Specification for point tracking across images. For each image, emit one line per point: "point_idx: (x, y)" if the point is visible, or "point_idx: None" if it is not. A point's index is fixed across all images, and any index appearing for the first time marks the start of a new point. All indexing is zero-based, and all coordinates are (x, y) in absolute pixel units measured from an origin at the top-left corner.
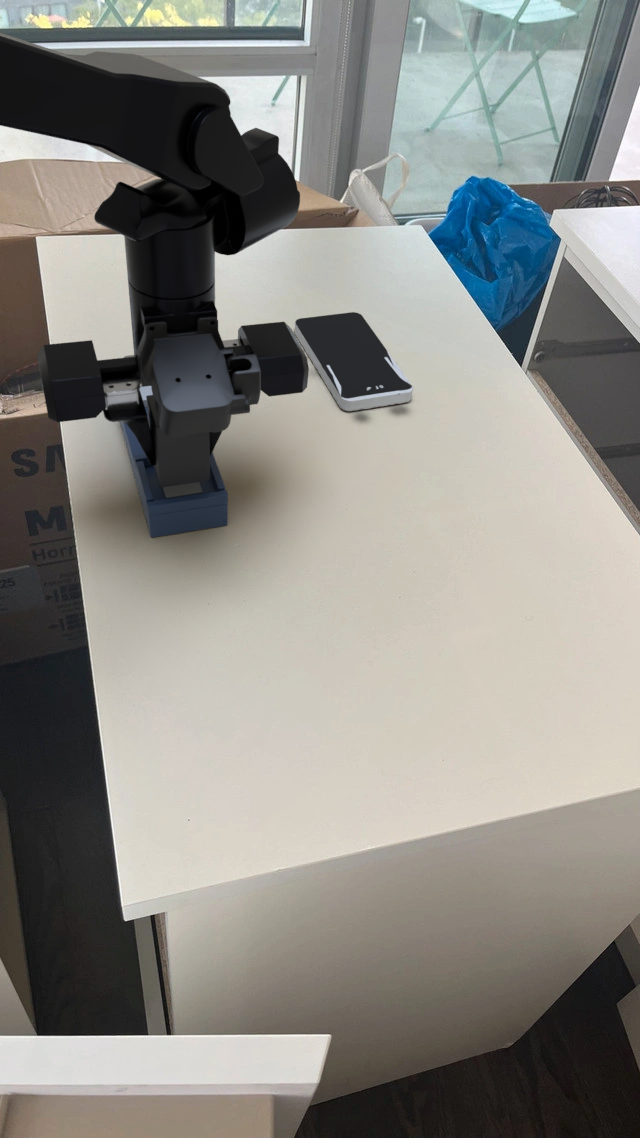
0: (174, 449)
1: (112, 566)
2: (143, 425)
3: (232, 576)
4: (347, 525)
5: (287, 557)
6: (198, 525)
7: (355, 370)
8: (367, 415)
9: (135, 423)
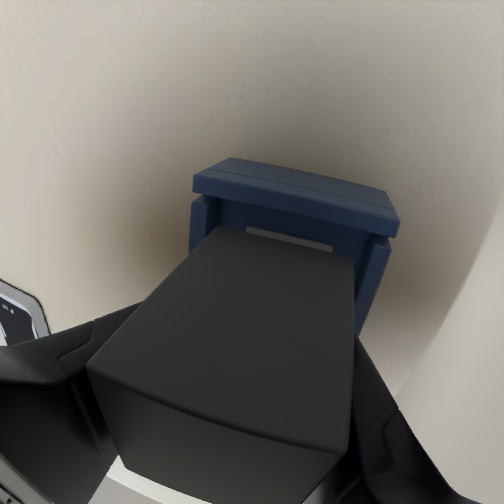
0: (288, 328)
1: (475, 160)
2: (383, 468)
3: (272, 28)
4: (62, 99)
5: (159, 47)
6: (286, 171)
7: (23, 339)
8: (21, 283)
9: (419, 486)
